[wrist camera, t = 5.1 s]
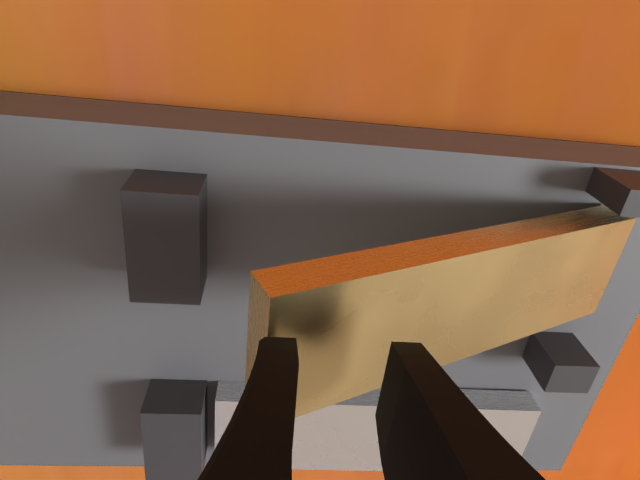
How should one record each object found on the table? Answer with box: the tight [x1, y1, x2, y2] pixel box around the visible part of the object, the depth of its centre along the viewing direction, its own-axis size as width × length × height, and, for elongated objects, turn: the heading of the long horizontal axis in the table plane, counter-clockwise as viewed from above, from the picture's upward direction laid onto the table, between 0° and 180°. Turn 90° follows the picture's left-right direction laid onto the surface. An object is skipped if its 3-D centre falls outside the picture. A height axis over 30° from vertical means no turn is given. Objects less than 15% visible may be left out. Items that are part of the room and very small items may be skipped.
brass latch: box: [245, 205, 637, 418], centre depth 13 cm, size 12×4×1 cm, turn 83°
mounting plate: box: [0, 91, 640, 480], centre depth 18 cm, size 14×24×4 cm, turn 84°
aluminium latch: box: [215, 381, 541, 471], centre depth 19 cm, size 12×4×1 cm, turn 84°
